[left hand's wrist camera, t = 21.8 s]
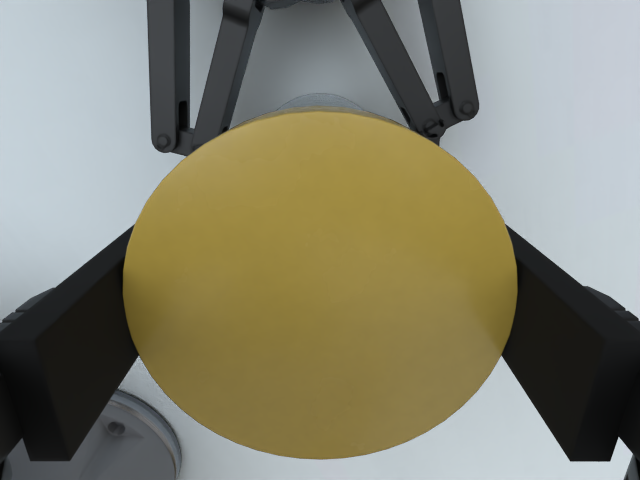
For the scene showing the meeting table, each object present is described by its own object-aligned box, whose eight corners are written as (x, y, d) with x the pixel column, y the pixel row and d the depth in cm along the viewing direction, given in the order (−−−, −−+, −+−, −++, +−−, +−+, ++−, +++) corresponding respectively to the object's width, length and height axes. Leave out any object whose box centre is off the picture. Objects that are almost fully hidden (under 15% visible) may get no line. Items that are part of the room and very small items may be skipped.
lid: (549, 306, 12) (586, 343, 10) (296, 455, 14) (293, 507, 13) (355, 16, 9) (363, 2, 8) (78, 254, 12) (37, 285, 10)
